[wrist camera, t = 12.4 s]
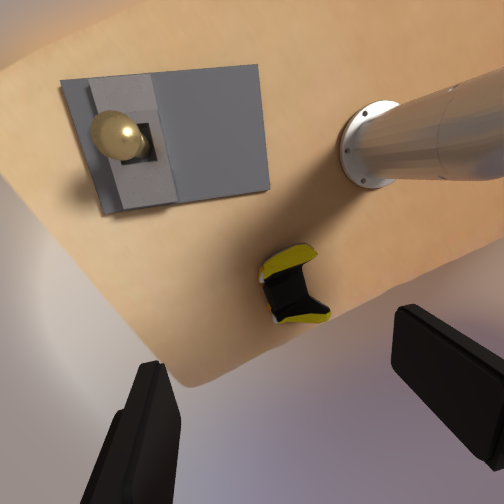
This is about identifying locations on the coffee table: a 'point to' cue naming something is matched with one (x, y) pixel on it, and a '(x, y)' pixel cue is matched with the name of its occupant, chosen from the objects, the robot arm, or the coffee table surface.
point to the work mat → (190, 133)
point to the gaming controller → (290, 286)
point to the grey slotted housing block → (144, 115)
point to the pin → (119, 136)
